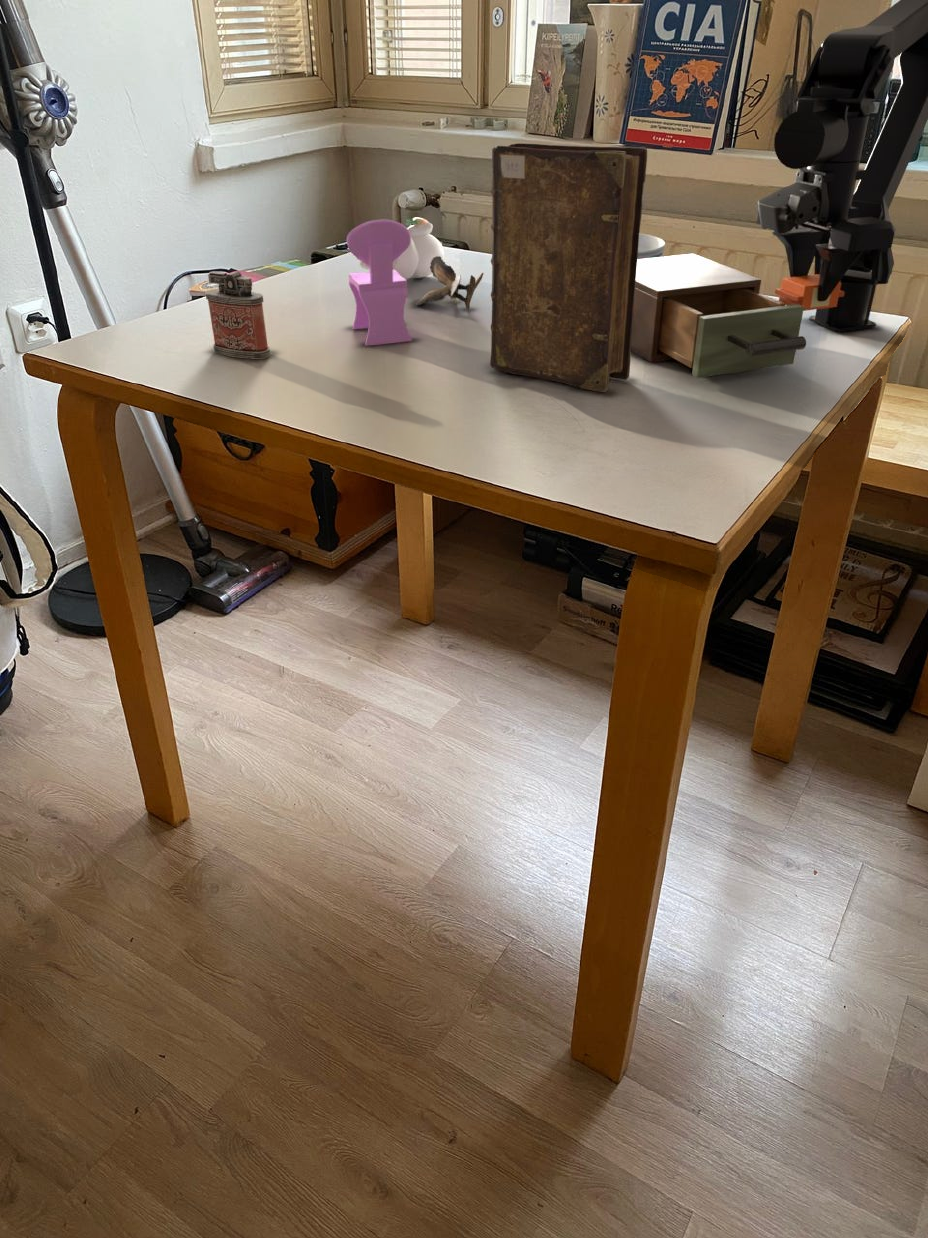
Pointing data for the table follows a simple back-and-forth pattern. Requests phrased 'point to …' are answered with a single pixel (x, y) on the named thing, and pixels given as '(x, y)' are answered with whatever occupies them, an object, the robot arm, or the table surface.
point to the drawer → (729, 331)
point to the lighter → (237, 316)
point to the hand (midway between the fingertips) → (808, 296)
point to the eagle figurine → (449, 284)
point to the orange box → (806, 292)
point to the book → (565, 260)
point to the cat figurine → (417, 251)
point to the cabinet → (675, 293)
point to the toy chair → (379, 280)
